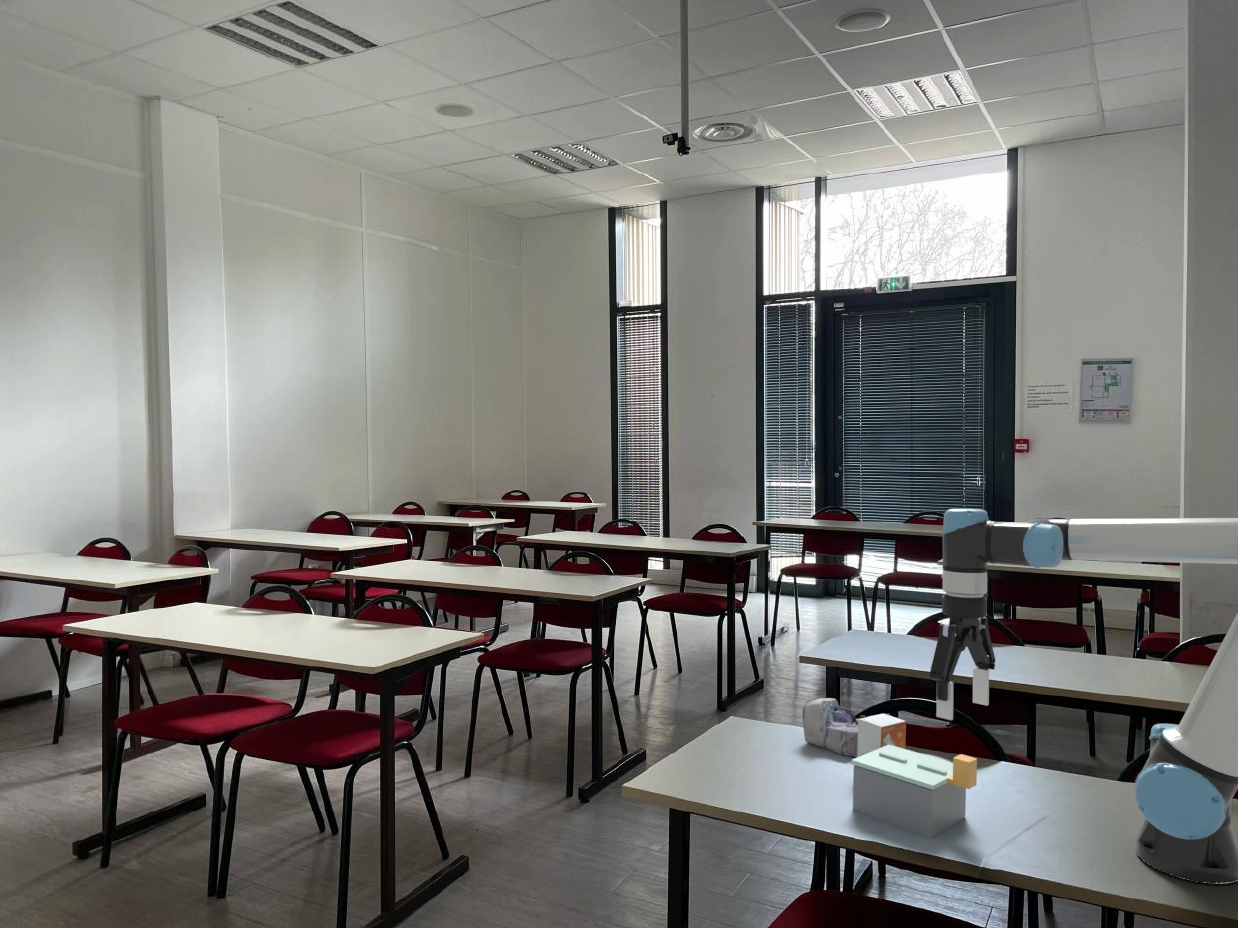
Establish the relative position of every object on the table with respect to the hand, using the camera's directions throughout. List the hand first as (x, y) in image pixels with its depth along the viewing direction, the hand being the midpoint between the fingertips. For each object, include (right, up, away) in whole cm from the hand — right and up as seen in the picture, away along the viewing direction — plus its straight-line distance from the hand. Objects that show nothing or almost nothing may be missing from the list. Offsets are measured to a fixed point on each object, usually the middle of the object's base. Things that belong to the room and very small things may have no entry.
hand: (963, 710), depth 157 cm
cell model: (-9, -22, +45) cm, 51 cm away
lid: (-6, -13, +6) cm, 15 cm away
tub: (-7, -22, +8) cm, 25 cm away
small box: (-7, -22, +25) cm, 34 cm away
